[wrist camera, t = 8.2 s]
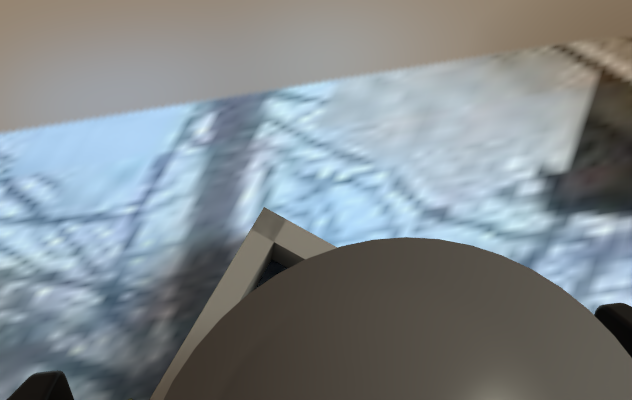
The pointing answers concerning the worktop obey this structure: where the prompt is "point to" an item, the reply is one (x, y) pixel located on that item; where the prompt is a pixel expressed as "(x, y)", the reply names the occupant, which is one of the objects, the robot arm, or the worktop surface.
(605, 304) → the robot arm
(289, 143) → the worktop surface
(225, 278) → the green stepped slab
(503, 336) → the grey domed pawn
